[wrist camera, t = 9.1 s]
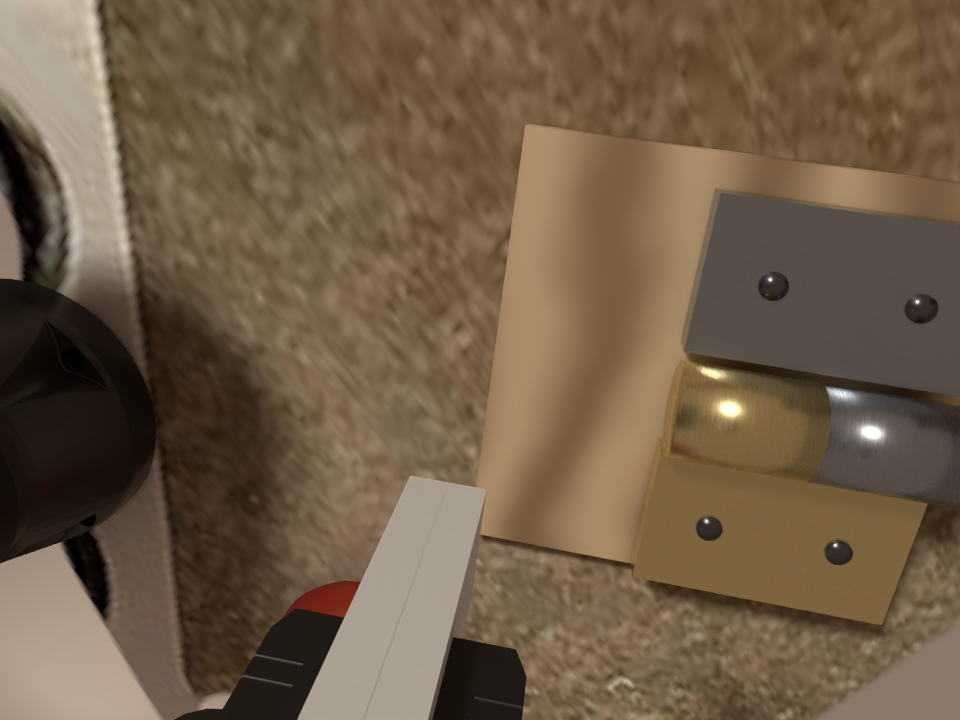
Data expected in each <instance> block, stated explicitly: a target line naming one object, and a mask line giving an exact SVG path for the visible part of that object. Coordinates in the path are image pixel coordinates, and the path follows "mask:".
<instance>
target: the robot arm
mask: <svg viewBox="0 0 960 720" xmlns="http://www.w3.org/2000/svg"><path fill="white" fill-rule="evenodd" d="M155 434H156V430H155V419H154V412H153V408H152V403H151V400H150V396H149V393H148V390H147V388H146V385H145V383H144V380H143V378H142V376H141V374H140V372H139V370H138V368H137V366H136V364H135V363H134V361H133V360H132V358H131V356H130V355H129V353H128V352H127V351H126V349H125V348H124V346H123V345H122V344H121V343H120V341H119V340H118V339H117V338H116V337H115V335H114V334H113V333H112V332H111V331H110V330H109V329H108V328H107V327H106V326H105V325H104V324H103V323H102V322H101V321H100V320H99V319H97V318H96V317H95V316H94V315H93V314H91V313H90V312H89V311H88V310H86V309H85V308H83V307H82V306H81V305H79V304H78V303H76V302H74V301H73V300H71V299H69V298H68V297H66V296H64V295H62V294H60V293H58V292H56V291H53V290H51V289H49V288H46V287H43V286H40V285H37V284H34V283H30V282H26V281H21V280H13V279H0V563H3V562H5V561H7V560H11V559H14V558H16V557H19V556H22V555H24V554H28V553H31V552H34V551H36V550H39V549H42V548H45V547H48V546H51V545H53V544H56V543H59V542H62V541H64V540H67V539H71V538H73V537H76V536H79V535H81V534H84V533H86V532H88V531H90V530H91V529H93V528H95V527H96V526H98V525H100V524H101V523H103V522H104V521H105V520H107V519H108V518H109V517H110V516H111V515H112V514H114V513H115V512H116V511H117V510H118V509H119V508H121V507H122V506H123V505H124V504H125V503H126V502H128V501H129V500H130V499H131V498H132V497H133V496H134V494H135V493H136V492H137V491H138V489H139V488H140V487H141V485H142V484H143V482H144V480H145V478H146V476H147V474H148V472H149V469H150V466H151V463H152V459H153V455H154V449H155ZM486 492H487V490H486V489H481V488H476V487H470V486H465V485H459V484H454V483H448V482H443V481H437V480H432V479H426V478H421V477H415V476H410V477H409V479H408V482H407V484H406V486H405V488H404V490H403V492H402V494H401V497H400V499H399V501H398V503H397V505H396V507H395V510H394V512H393V514H392V516H391V518H390V520H389V523H388V525H387V527H386V529H385V531H384V533H383V536H382V538H381V540H380V542H379V544H378V546H377V548H376V551H375V553H374V555H373V557H372V559H371V561H370V564H369V566H368V568H367V570H366V572H365V574H364V577H363V579H362V581H361V583H360V585H359V587H358V590H357V592H356V594H355V596H354V598H353V600H352V603H351V605H350V607H349V609H348V611H347V613H346V615H345V617H340V616H335V615H330V614H325V613H320V612H315V611H310V610H305V609H300V608H296V609H294V610H293V611H292V612H290V613H289V614H288V615H286V616H285V617H284V618H282V619H281V620H280V621H278V622H277V623H276V624H274V625H273V626H272V627H271V628H270V630H269V631H268V633H267V635H266V637H265V638H264V640H263V642H262V643H261V645H260V647H259V648H258V650H257V652H256V656H255V657H253V659H252V660H251V662H250V664H249V665H248V667H247V669H246V670H245V672H244V676H243V678H241V679H240V681H239V682H238V684H237V686H236V687H235V689H234V691H233V692H232V694H231V696H230V698H229V699H228V701H227V703H226V704H225V706H224V708H223V709H204V710H200V711H196V712H191V713H187V714H184V715H182V716H180V717H178V718H177V719H175V720H522V713H523V704H524V695H525V686H526V674H525V671H524V669H523V666H522V664H521V661H520V659H519V656H518V654H517V651H516V649H511V648H506V647H501V646H496V645H491V644H486V643H481V642H476V641H471V640H466V639H462V636H463V632H464V627H465V623H466V619H467V615H468V610H469V606H470V599H471V593H472V586H473V579H474V572H475V566H476V559H477V552H478V546H479V539H480V532H481V525H482V519H483V512H484V505H485V499H486Z"/></svg>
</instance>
